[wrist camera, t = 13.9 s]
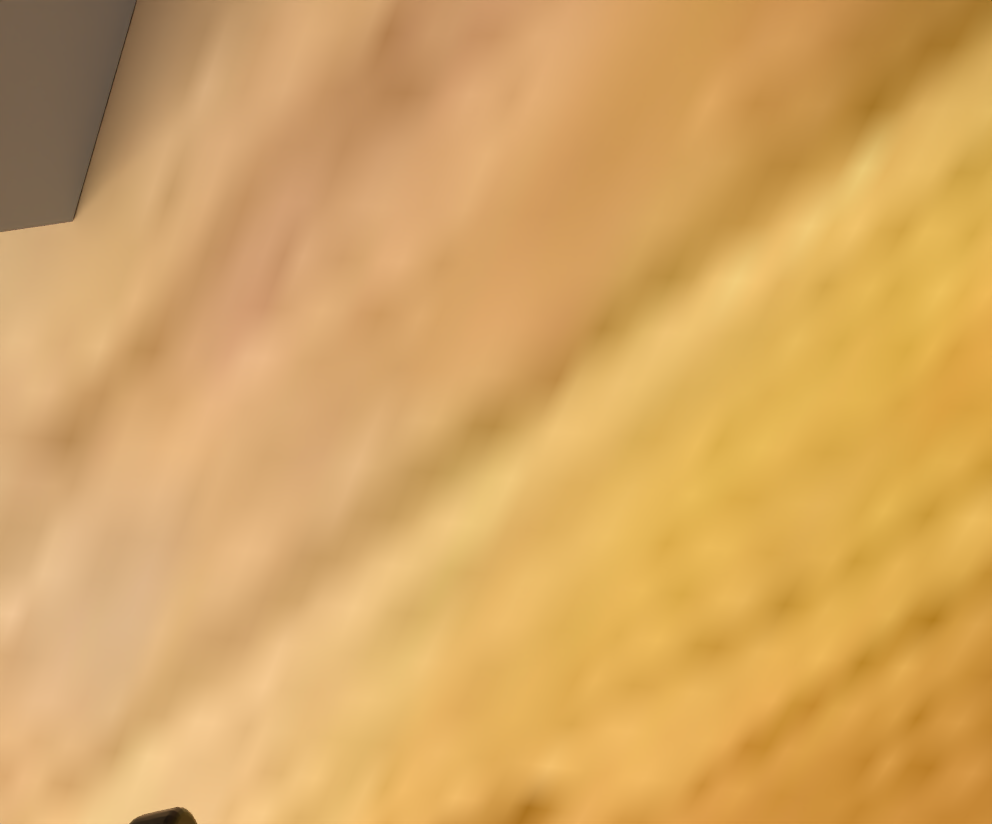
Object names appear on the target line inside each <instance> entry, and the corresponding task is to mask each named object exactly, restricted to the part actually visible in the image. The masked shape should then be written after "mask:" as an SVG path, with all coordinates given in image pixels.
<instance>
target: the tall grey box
mask: <svg viewBox="0 0 992 824" xmlns="http://www.w3.org/2000/svg"><path fill="white" fill-rule="evenodd" d="M135 3H136V0H0V232H4V231H11V230H17V229H24V228H31V227H38V226H45V225H51V224H58V223H65V222H72V221H73V218H74V214H75V211H76V207H77V204H78V200H79V197H80V193H81V190H82V187H83V183H84V180H85V176H86V173H87V169H88V166H89V162H90V159H91V155H92V152H93V148H94V145H95V141H96V138H97V135H98V131H99V128H100V124H101V121H102V117H103V114H104V110H105V107H106V103H107V100H108V96H109V93H110V90H111V86H112V83H113V79H114V76H115V72H116V69H117V65H118V62H119V58H120V55H121V51H122V48H123V44H124V41H125V38H126V34H127V31H128V27H129V24H130V20H131V17H132V13H133V10H134V6H135Z"/></svg>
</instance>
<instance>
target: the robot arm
mask: <svg viewBox="0 0 992 824" xmlns="http://www.w3.org/2000/svg"><path fill="white" fill-rule="evenodd" d="M130 824H197V822H196V820H195V819H194V817H193V815H192V814H191V813H190V812H189V811H188V810H187V809H185V808H180V807H175V808H171V809H166V810H162V811H157V812H153V813H148V814H144V815H142V816H139V817H137V818H135V819H134V820H133V821H132V822H131V823H130Z"/></svg>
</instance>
